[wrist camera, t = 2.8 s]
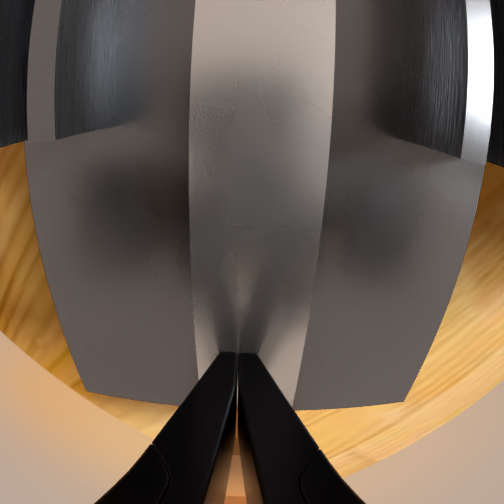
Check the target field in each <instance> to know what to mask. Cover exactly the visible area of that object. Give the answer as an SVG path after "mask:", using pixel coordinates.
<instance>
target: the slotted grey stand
mask: <svg viewBox="0 0 504 504" xmlns="http://www.w3.org/2000/svg"><path fill="white" fill-rule="evenodd" d="M195 2H196V0H0V148H1V147H4V146H8V145H11V144H15V143H18V142H22V141H24V145H25V158H26V168H27V177H28V185H29V193H30V200H31V206H32V212H33V218H34V224H35V229H36V234H37V239H38V244H39V249H40V253H41V257H42V262H43V266H44V270H45V274H46V277H47V281H48V285H49V289H50V292H51V296H52V299H53V302H54V306H55V309H56V312H57V315H58V318H59V321H60V324H61V327H62V330H63V333H64V336H65V339H66V341H67V344H68V347H69V350H70V352H71V355H72V357H73V360H74V363H75V365H76V367H77V370H78V372H79V375H80V377H81V379H82V382H83V384H84V386H85V389H86V391H88V392H93V393H98V394H103V395H109V396H114V397H120V398H126V399H132V400H138V401H145V402H152V403H160V404H168V405H178V406H180V405H181V404H182V402H183V401H184V400H185V398H186V397H187V396H188V394H189V393H190V392H191V390H192V389H193V388H194V386H195V385H196V384H197V382H198V381H199V378H198V367H197V356H196V343H195V330H194V315H193V299H192V280H191V257H190V227H189V110H190V80H191V59H192V42H193V27H194V14H195ZM486 161H488V162H490V163H493V164H496V165H499V166H501V167H504V0H336V25H335V65H334V88H333V107H332V122H331V136H330V149H329V161H328V172H327V182H326V192H325V202H324V211H323V220H322V228H321V236H320V244H319V252H318V259H317V267H316V274H315V281H314V288H313V294H312V301H311V307H310V314H309V320H308V326H307V332H306V338H305V343H304V349H303V355H302V360H301V365H300V371H299V376H298V381H297V386H296V391H295V396H294V401H293V406H292V408H293V410H321V409H338V408H351V407H362V406H372V405H381V404H389V403H397V402H404V400H405V398H406V396H407V394H408V392H409V391H410V389H411V387H412V385H413V383H414V381H415V379H416V377H417V375H418V373H419V371H420V369H421V367H422V365H423V362H424V360H425V358H426V356H427V354H428V352H429V350H430V347H431V345H432V343H433V340H434V338H435V336H436V333H437V331H438V329H439V326H440V324H441V321H442V319H443V316H444V314H445V311H446V309H447V306H448V303H449V301H450V298H451V295H452V292H453V289H454V287H455V284H456V281H457V278H458V275H459V272H460V268H461V265H462V262H463V259H464V255H465V252H466V249H467V245H468V241H469V238H470V234H471V230H472V226H473V222H474V218H475V214H476V210H477V205H478V200H479V196H480V191H481V186H482V180H483V175H484V169H485V165H486ZM237 410H238V407H237Z"/></svg>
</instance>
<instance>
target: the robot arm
mask: <svg viewBox="0 0 504 504" xmlns="http://www.w3.org/2000/svg"><path fill="white" fill-rule="evenodd" d="M237 375H238V415H237ZM236 420H237V431H238V443H239V451H240V459H241V466H242V474H243V481H244V488H245V495H246V502H247V504H366V503H365V502H364V501H363V500H362V499H361V498H360V497H359V496H358V495H357V494H356V493H355V492H354V491H353V490H352V489H351V488H350V487H349V485H348V484H347V483H346V482H345V481H344V480H343V479H342V478H341V476H340V475H339V474H338V472H337V471H336V470H335V468H334V467H333V466H332V465H331V463H330V462H329V461H328V459H327V458H326V456H325V455H324V453H323V452H322V450H318V449H319V446H318V445H317V444H316V442H315V441H314V439H313V438H312V436H311V435H310V433H309V432H308V430H307V429H306V427H305V426H304V424H303V423H302V422H301V420H300V419H299V417H298V416H297V414H296V413H295V411H294V410H293V408H292V407H291V405H290V404H289V402H288V400H287V399H286V397H285V396H284V394H283V393H282V391H281V390H280V388H279V387H278V385H277V384H276V382H275V381H274V379H273V377H272V376H271V374H270V373H269V371H268V370H267V368H266V367H265V365H264V363H263V362H262V360H261V359H260V357H259V355H258V354H257V353H240V354H239V364H238V354H237V353H235V352H220V353H219V354H218V355H217V356H216V358H215V359H214V361H213V362H212V363H211V365H210V366H209V367H208V369H207V370H206V371H205V373H204V374H203V376H202V377H201V378H200V380H199V381H198V382H197V384H196V385H195V386H194V388H193V389H192V390H191V392H190V393H189V394H188V396H187V397H186V398H185V400H184V401H183V402H182V404H181V405H180V406H179V408H178V409H177V410H176V412H175V413H174V414H173V416H172V417H171V418H170V419H169V421H168V422H167V423H166V425H165V426H164V427H163V429H162V430H161V431H160V433H159V434H158V435H157V436H156V438H155V439H154V440H153V442H152V444H153V445H152V444H151V445H149V447H148V448H147V449H146V450H145V452H144V453H143V454H142V456H141V457H140V458H139V459H138V460H137V461H136V463H135V464H134V465H133V466H132V467H131V469H130V470H129V471H128V472H127V473H126V474H125V475H124V476H123V477H122V478H121V479H120V480H119V481H118V482H117V483H116V484H115V485H114V486H113V487H112V488H111V489H110V490H109V491H108V492H106V493H105V494H104V495H103V496H102V497H101V498H100V499H99V500H98V501H96V502H95V503H94V504H224V502H225V496H226V490H227V484H228V478H229V473H230V467H231V461H232V455H233V449H234V443H235V436H236Z"/></svg>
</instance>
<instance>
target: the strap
mask: <svg viewBox="0 0 504 504" xmlns="http://www.w3.org/2000/svg"><path fill="white" fill-rule="evenodd" d="M335 25H336V0H196V2H195V14H194V27H193V42H192V59H191V80H190V110H189V227H190V257H191V280H192V299H193V315H194V330H195V343H196V356H197V367H198V378H199V380H200V378H201V377H202V376H203V374H204V373H205V371H206V370H207V369H208V367H209V366H210V365H211V363H212V362H213V361H214V359H215V358H216V356H217V355H218V354H219V353H220V352H235V353H237V354H238V364H239V354H240V353H257V354H258V355H259V357H260V359H261V360H262V362H263V363H264V365H265V367H266V368H267V370H268V371H269V373H270V374H271V376H272V377H273V379H274V381H275V382H276V384H277V385H278V387H279V388H280V390H281V391H282V393H283V394H284V396H285V397H286V399H287V400H288V402H289V404H290V405H291V407H292V406H293V401H294V396H295V391H296V386H297V381H298V376H299V371H300V365H301V360H302V355H303V349H304V343H305V338H306V332H307V326H308V320H309V314H310V307H311V301H312V294H313V288H314V281H315V274H316V267H317V259H318V252H319V244H320V236H321V228H322V220H323V211H324V202H325V192H326V182H327V172H328V161H329V149H330V136H331V122H332V107H333V88H334V65H335ZM237 407H238V375H237Z"/></svg>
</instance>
